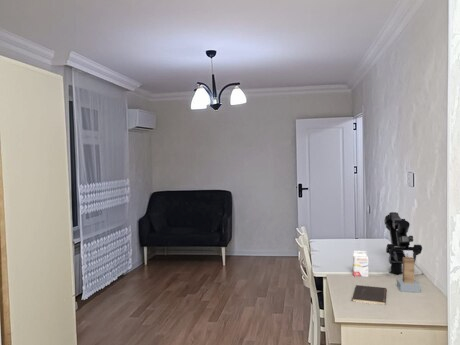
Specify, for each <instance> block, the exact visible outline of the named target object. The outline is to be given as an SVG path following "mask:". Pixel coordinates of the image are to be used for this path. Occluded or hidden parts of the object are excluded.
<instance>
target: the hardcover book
mask: <svg viewBox="0 0 460 345" xmlns="http://www.w3.org/2000/svg"><path fill="white" fill-rule="evenodd" d="M387 291H388V290H387V287H380V286H370V285H355V288H354V291H353V295H352V297H351V298H352V302H353V301H356V302H357V303H362V302H364V304H365V303H366V304H372V303H374V304H375V305H384V306H386V305H387V304H386V303H387Z"/></svg>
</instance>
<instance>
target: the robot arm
mask: <svg viewBox="0 0 460 345" xmlns="http://www.w3.org/2000/svg"><path fill="white" fill-rule="evenodd" d="M384 225H385V227H386V228H385V229H387V230H388V232H389V237H390V243H387V244H386V249H385V253H387V254H389V255H388V256H389V257H388V263H389V264H390V271H388V273H389V274H393V275H403V257H406V255H405V253H404V251H412V258H413V259H414V263H416V259H417V256H419V255H420V254H422V251H423V246H422V245H421V244H414V245H413V246H410V245H411V244H410V243H413V242H414V236H413V235H409V236H408V232H409V228H410V225H411V224H410V222H409V221H408V220H406V218H401V216H400V214H399V212H396V211H395V212H394V211H393V212H389V214H387V215H386V216H385V217H384Z"/></svg>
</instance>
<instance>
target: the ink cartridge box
mask: <svg viewBox="0 0 460 345" xmlns="http://www.w3.org/2000/svg"><path fill="white" fill-rule="evenodd" d="M369 262H370V260H369V256H368V251H367V250H353V255H352V275H353V276H354V277H366V278H368V277H369Z"/></svg>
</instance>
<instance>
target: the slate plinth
mask: <svg viewBox="0 0 460 345" xmlns="http://www.w3.org/2000/svg"><path fill="white" fill-rule="evenodd" d="M396 287H397V289H398V290H399V292H401V293H421V284H420V282H418V280H417V279H414V283H404V282H403V278H400V279H399V278H397V279H396Z"/></svg>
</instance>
